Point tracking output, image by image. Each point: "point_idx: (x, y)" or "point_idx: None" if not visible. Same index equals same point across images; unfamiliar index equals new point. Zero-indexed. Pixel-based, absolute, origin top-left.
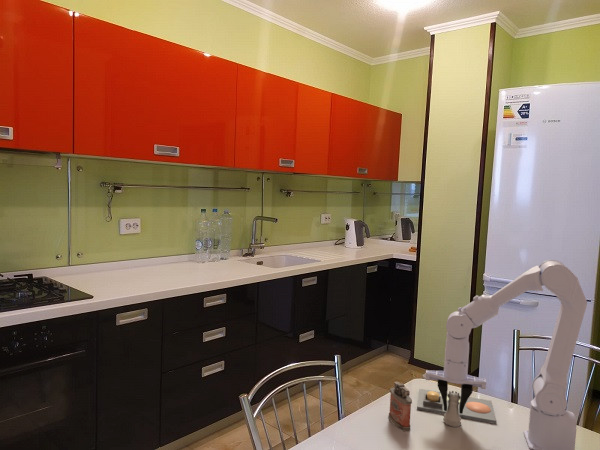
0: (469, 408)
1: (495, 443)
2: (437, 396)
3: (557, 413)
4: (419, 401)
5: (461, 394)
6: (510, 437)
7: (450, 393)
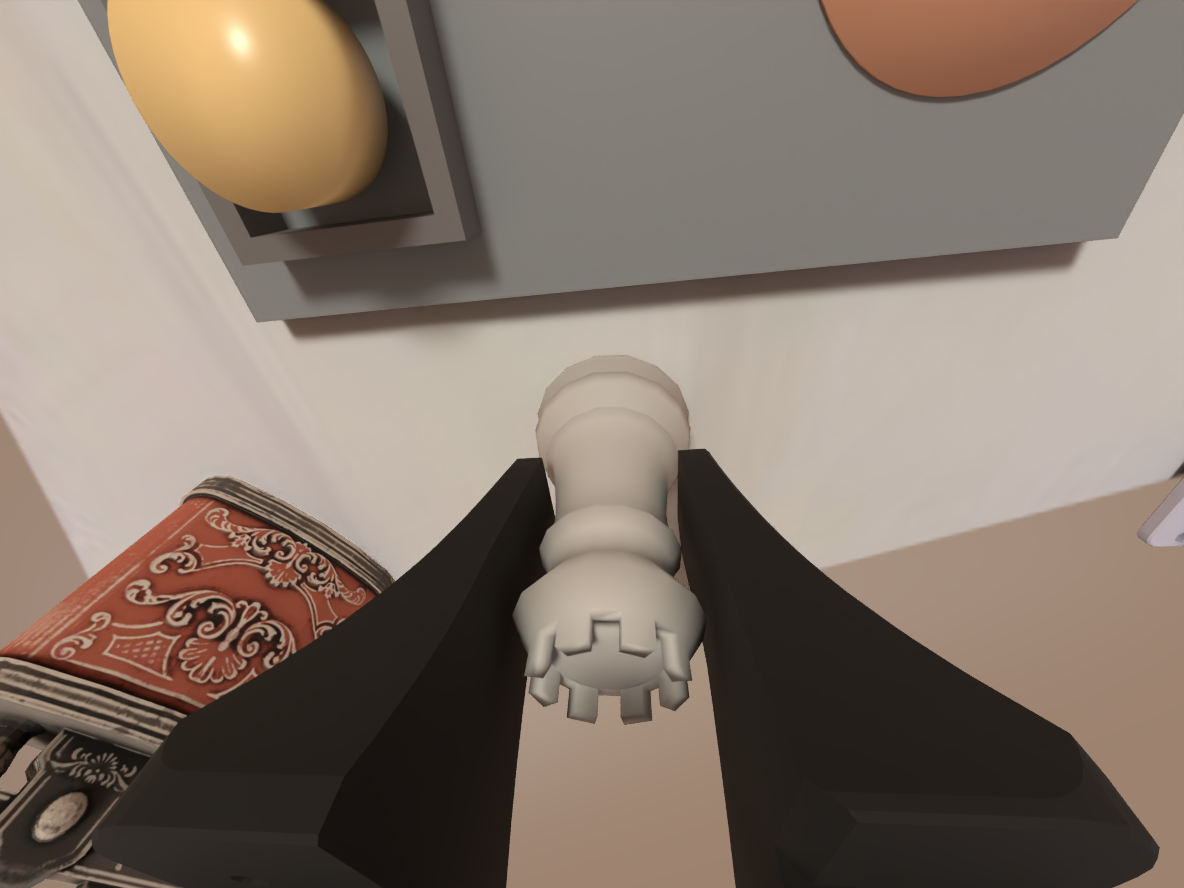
0: (847, 4)
1: (894, 542)
2: (337, 168)
3: None
4: None
5: (724, 708)
6: (1076, 435)
7: (553, 699)
